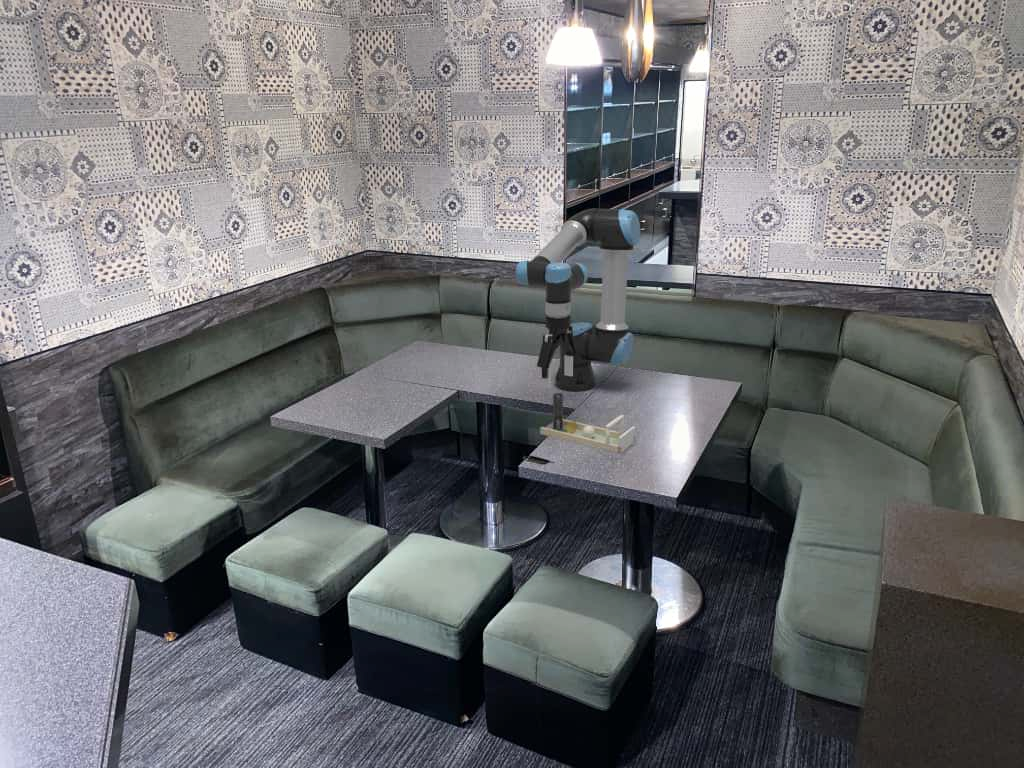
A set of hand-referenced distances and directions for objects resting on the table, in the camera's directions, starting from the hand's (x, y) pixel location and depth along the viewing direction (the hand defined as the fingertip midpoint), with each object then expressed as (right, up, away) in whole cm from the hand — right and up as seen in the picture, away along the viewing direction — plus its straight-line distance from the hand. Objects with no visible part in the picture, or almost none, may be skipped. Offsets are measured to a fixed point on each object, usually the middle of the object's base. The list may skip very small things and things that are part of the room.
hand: (557, 381), depth 243 cm
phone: (-4, -22, -6) cm, 23 cm away
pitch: (+9, -19, +1) cm, 21 cm away
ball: (+10, -18, 0) cm, 20 cm away
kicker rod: (+1, -16, +6) cm, 17 cm away
